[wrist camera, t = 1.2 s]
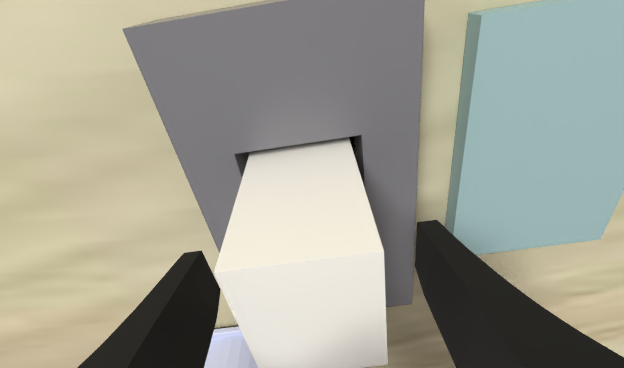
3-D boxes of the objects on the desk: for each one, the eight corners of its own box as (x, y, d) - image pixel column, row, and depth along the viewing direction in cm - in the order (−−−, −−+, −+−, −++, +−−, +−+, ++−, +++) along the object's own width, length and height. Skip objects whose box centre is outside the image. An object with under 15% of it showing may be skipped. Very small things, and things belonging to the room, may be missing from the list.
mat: (586, 227, 18) (600, 239, 17) (443, 245, 18) (449, 258, 17) (695, -25, 11) (727, -26, 10) (468, 12, 12) (481, 15, 11)
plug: (352, 209, 17) (387, 364, 10) (278, 219, 17) (263, 378, 10) (343, 120, 14) (383, 251, 7) (255, 134, 14) (213, 272, 7)
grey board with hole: (399, 268, 19) (412, 304, 17) (255, 286, 20) (249, 323, 17) (401, -23, 11) (425, -25, 9) (155, 20, 11) (122, 29, 9)
